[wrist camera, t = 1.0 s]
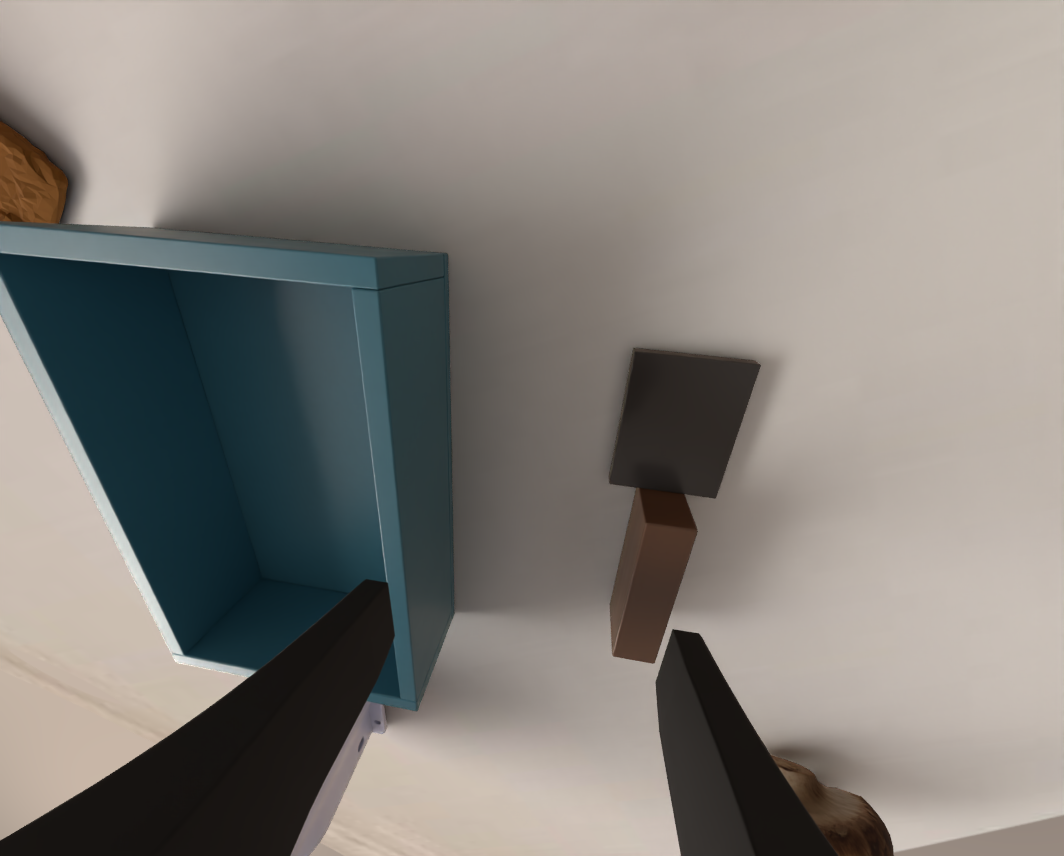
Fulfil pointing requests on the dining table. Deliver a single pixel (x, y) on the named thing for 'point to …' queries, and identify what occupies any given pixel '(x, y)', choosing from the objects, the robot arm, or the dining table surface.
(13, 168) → the primitive tool
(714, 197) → the dining table surface
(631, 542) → the scraper
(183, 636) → the bin
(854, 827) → the mushroom
